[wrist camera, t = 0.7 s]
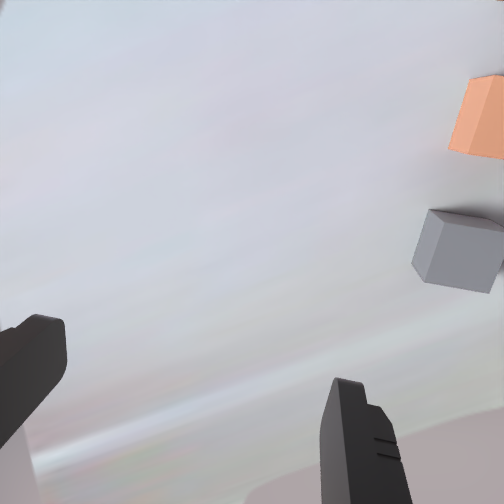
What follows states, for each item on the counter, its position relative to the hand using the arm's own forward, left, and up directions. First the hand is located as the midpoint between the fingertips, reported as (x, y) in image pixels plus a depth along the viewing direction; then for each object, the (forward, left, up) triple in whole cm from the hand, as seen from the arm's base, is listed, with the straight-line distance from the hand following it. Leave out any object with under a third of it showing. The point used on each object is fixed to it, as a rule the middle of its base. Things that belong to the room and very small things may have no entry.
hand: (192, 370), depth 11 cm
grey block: (+2, +16, -24) cm, 29 cm away
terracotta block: (-8, +16, -24) cm, 30 cm away
